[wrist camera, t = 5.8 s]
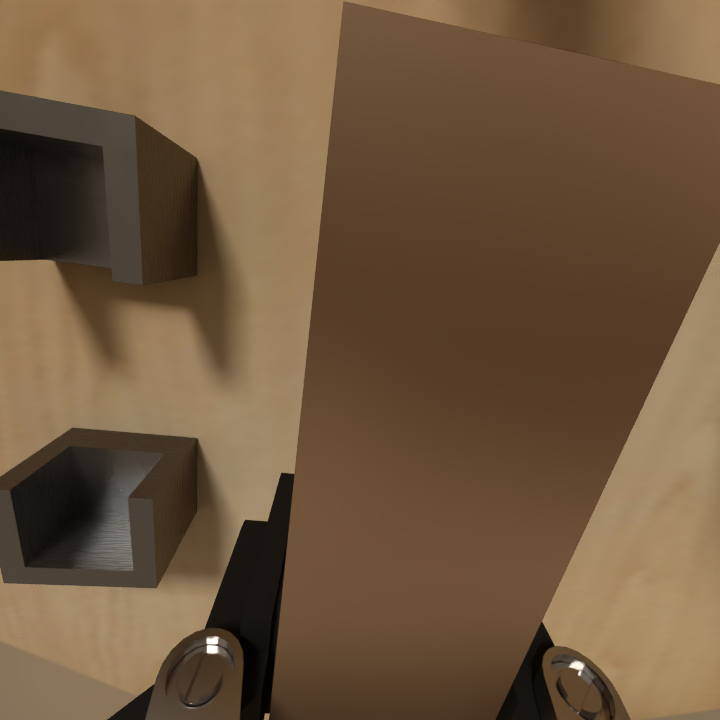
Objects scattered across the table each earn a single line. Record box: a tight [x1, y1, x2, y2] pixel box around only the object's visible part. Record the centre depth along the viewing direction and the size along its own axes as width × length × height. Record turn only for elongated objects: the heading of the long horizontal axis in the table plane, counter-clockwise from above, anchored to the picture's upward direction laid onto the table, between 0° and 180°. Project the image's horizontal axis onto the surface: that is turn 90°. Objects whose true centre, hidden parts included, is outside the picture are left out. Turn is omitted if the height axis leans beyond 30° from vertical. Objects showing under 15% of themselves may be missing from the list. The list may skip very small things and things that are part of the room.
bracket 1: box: [0, 91, 197, 285], centre depth 16 cm, size 6×8×6 cm
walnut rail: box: [269, 1, 720, 720], centre depth 8 cm, size 19×4×5 cm, turn 172°
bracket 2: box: [0, 428, 197, 588], centre depth 21 cm, size 6×8×6 cm
